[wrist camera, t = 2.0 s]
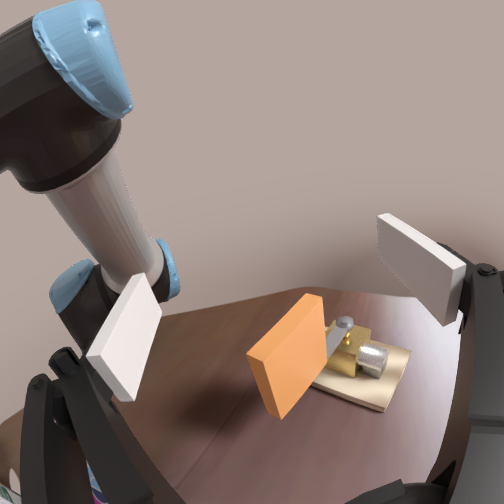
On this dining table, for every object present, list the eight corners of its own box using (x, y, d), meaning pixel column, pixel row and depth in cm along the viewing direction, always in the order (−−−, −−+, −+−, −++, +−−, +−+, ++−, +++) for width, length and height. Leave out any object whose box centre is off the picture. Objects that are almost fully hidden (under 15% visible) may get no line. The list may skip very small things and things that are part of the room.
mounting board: (313, 328, 52) (312, 322, 52) (409, 356, 39) (411, 350, 39) (276, 370, 45) (275, 365, 44) (383, 412, 32) (385, 407, 31)
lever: (340, 319, 40) (336, 257, 35) (356, 323, 38) (354, 260, 34) (265, 411, 29) (243, 352, 24) (283, 421, 27) (265, 363, 22)
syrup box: (49, 522, 16) (-18, 484, 10) (35, 537, 11) (-32, 501, 5) (34, 502, 19) (-27, 461, 13) (21, 517, 14) (-40, 478, 8)
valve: (317, 337, 48) (314, 306, 45) (389, 359, 39) (394, 327, 35) (300, 358, 44) (295, 327, 41) (376, 385, 35) (381, 354, 32)
